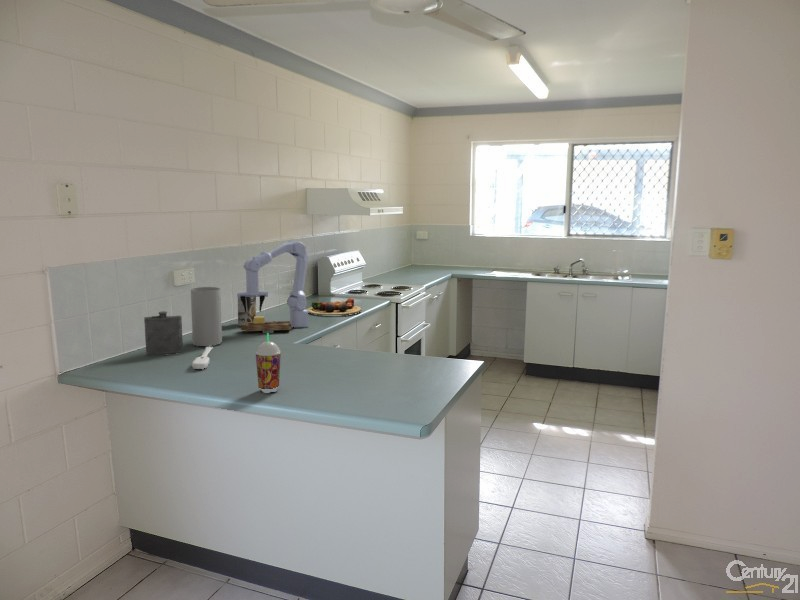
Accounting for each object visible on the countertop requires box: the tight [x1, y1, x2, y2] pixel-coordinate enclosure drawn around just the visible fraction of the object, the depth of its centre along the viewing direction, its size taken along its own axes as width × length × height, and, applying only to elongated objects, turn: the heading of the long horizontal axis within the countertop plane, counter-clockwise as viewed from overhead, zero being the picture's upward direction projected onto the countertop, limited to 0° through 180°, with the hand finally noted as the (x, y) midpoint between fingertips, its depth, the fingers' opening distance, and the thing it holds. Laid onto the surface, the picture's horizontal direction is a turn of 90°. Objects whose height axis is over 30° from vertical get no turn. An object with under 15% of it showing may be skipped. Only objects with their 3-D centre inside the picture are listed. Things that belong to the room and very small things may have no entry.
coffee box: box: [237, 295, 257, 327], centre depth 305 cm, size 9×6×16 cm
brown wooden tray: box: [240, 320, 292, 332], centre depth 290 cm, size 24×8×3 cm, turn 104°
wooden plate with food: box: [307, 297, 362, 315], centre depth 347 cm, size 32×32×8 cm
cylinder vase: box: [190, 286, 223, 347], centre depth 261 cm, size 12×12×25 cm
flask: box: [143, 310, 184, 356], centre depth 243 cm, size 4×14×18 cm, turn 108°
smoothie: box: [255, 333, 282, 389], centre depth 197 cm, size 8×8×20 cm
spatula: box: [191, 346, 214, 370], centre depth 234 cm, size 28×6×3 cm, turn 9°
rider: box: [254, 315, 266, 324], centre depth 289 cm, size 5×5×5 cm
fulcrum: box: [262, 330, 274, 335], centre depth 290 cm, size 5×9×2 cm, turn 14°
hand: (253, 311), depth 287 cm, fingers open, 6 cm apart
